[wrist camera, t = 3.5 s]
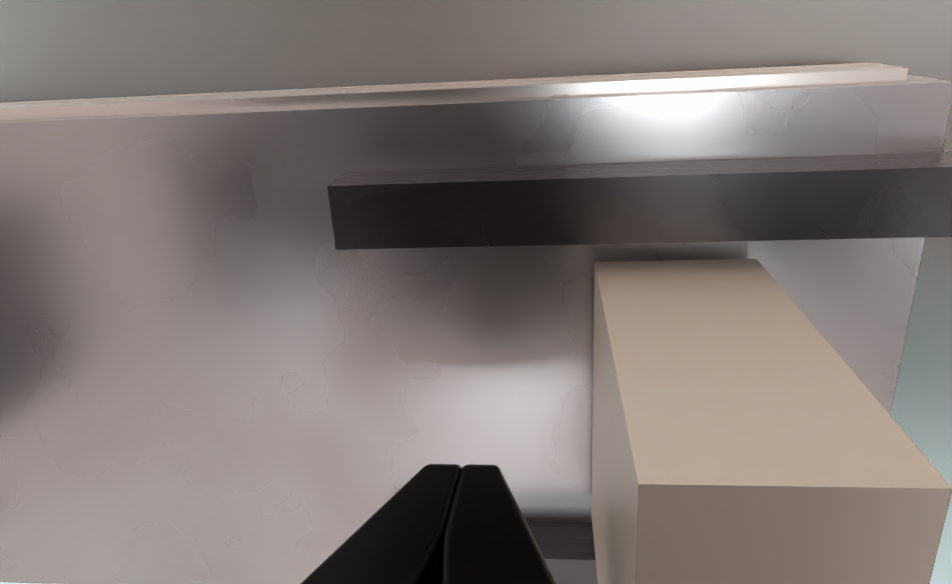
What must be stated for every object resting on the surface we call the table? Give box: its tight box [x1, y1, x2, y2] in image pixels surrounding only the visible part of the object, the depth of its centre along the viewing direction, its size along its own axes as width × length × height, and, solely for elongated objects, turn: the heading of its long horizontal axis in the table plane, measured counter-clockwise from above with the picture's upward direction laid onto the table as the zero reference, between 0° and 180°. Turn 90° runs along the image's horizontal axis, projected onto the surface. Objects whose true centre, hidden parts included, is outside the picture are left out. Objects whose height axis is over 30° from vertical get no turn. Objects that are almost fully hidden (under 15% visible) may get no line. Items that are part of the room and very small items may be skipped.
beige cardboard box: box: [591, 259, 952, 584], centre depth 7 cm, size 2×4×4 cm, turn 4°
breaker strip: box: [0, 62, 952, 584], centre depth 11 cm, size 18×8×3 cm, turn 94°
